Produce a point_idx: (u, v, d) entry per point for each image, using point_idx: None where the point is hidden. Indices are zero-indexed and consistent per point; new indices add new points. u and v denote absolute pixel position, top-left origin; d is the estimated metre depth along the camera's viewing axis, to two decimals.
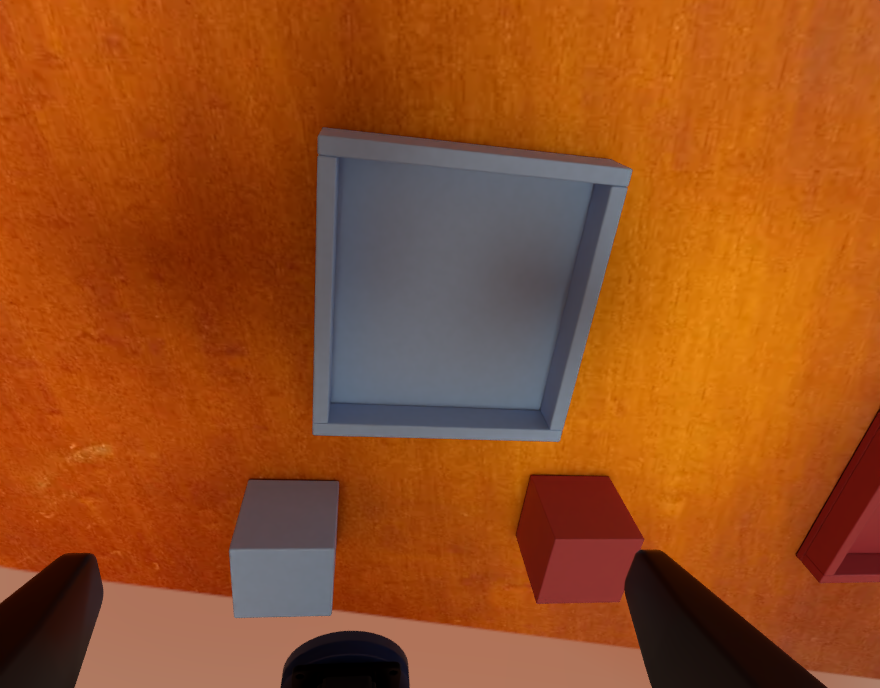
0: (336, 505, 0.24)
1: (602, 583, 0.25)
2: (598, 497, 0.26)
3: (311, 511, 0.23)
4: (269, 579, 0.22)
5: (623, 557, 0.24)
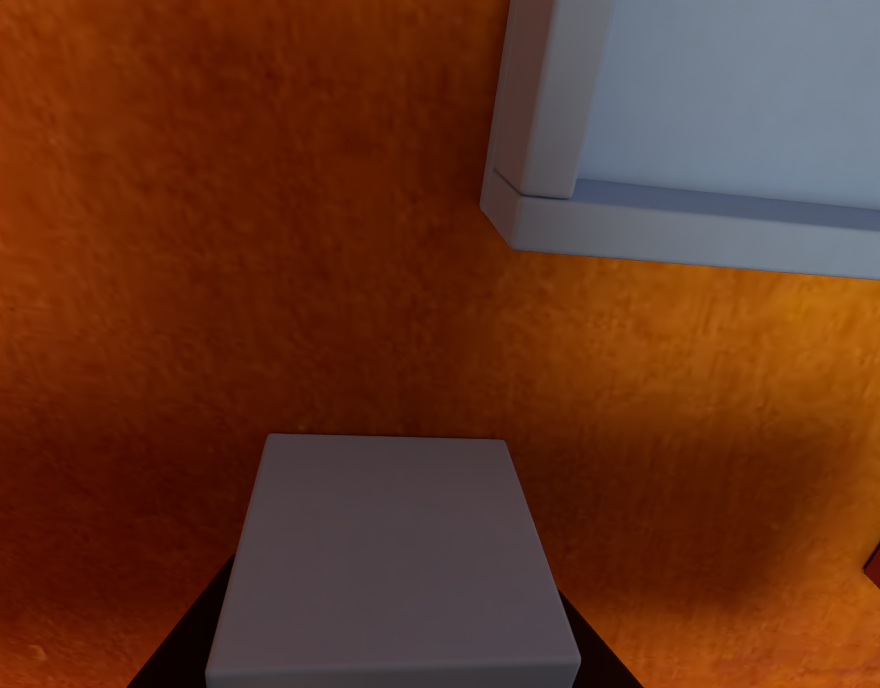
0: (525, 504, 0.08)
1: None
2: None
3: (462, 522, 0.08)
4: None
5: None
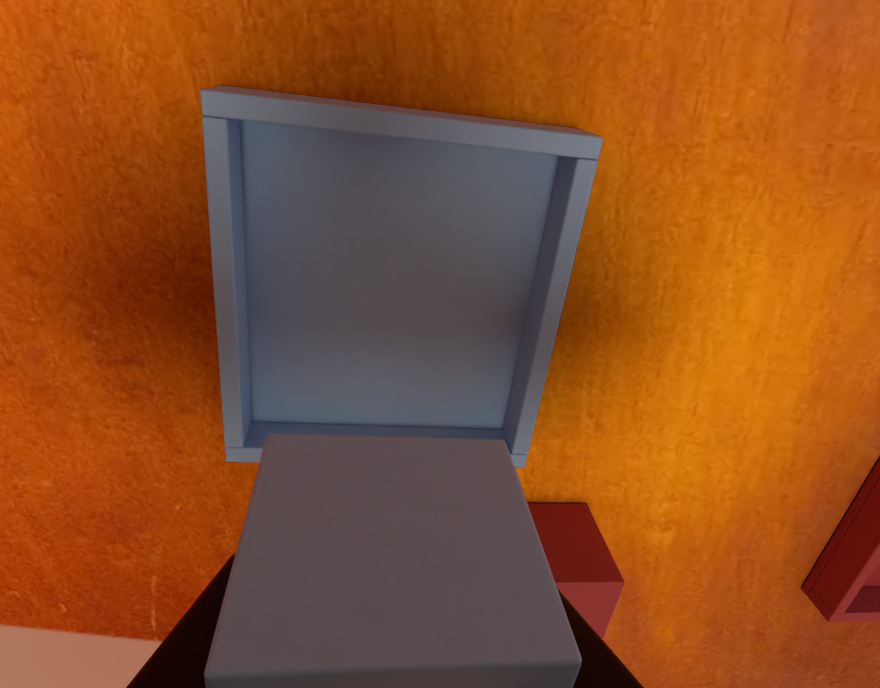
0: (526, 504, 0.08)
1: None
2: (573, 529, 0.22)
3: (462, 522, 0.08)
4: None
5: (600, 603, 0.20)
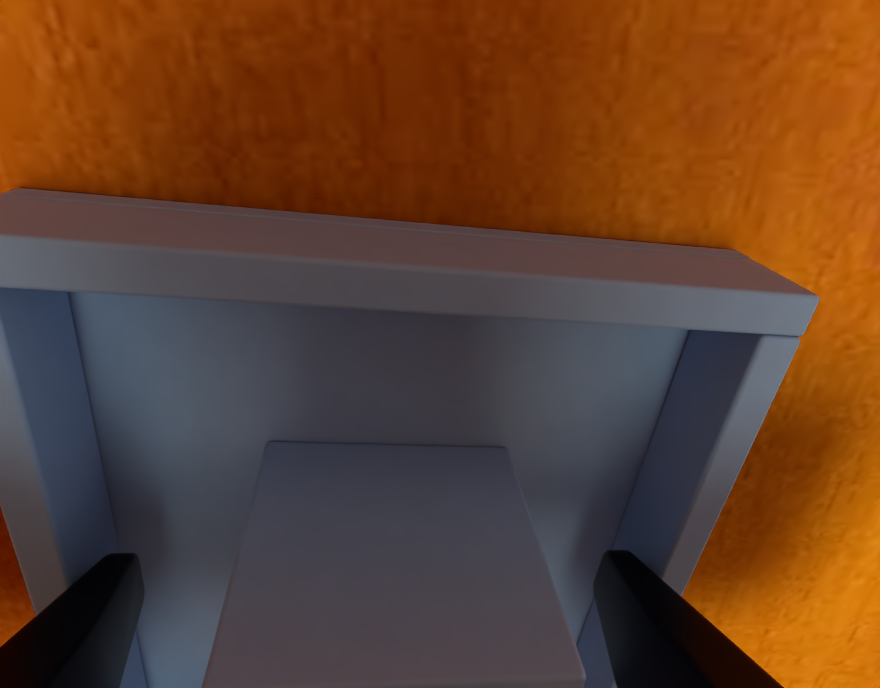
0: (528, 514, 0.08)
1: None
2: None
3: (464, 533, 0.08)
4: None
5: None
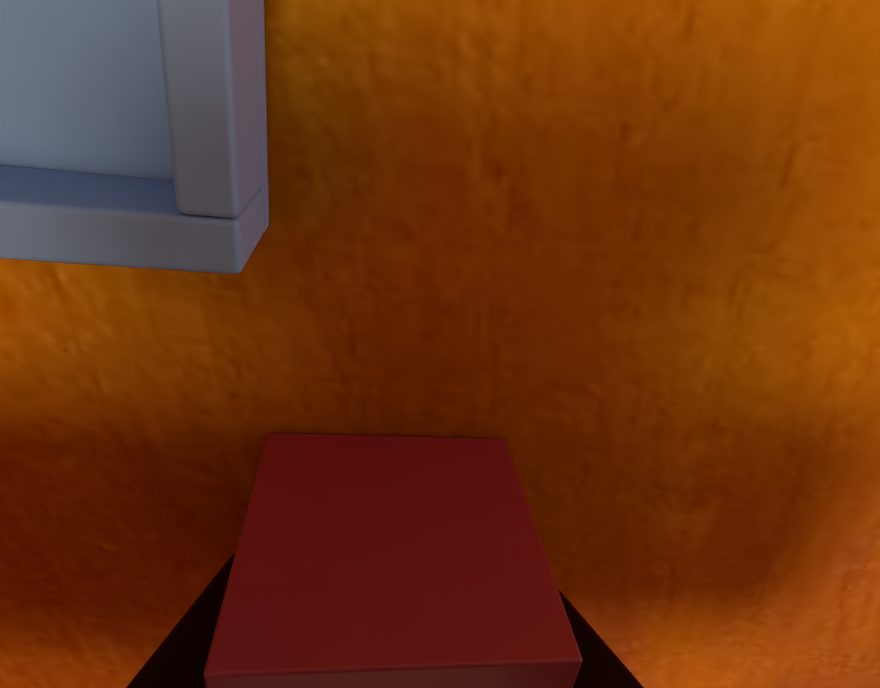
0: None
1: None
2: (453, 498, 0.08)
3: None
4: None
5: None
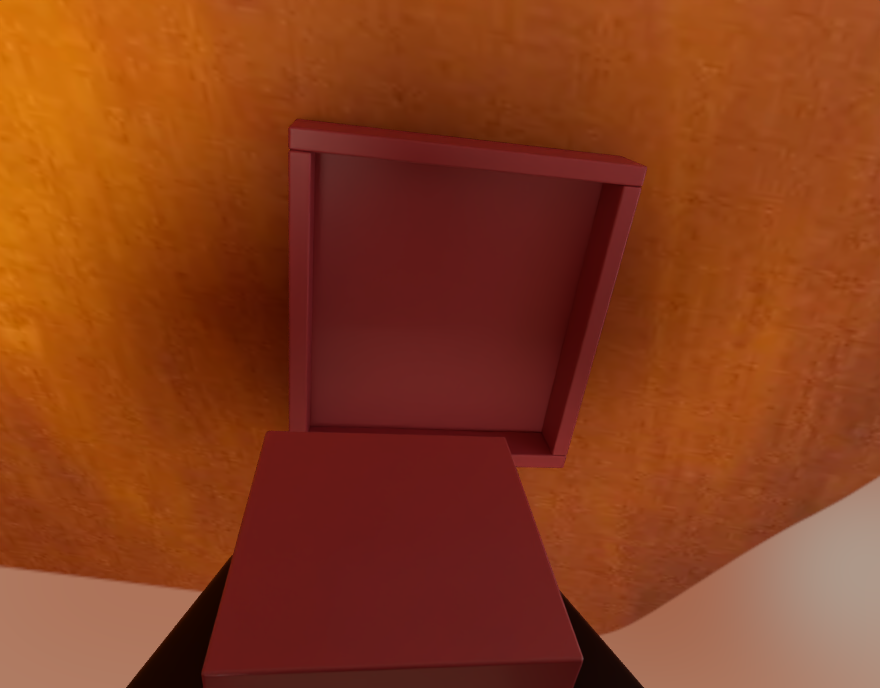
0: None
1: None
2: (453, 496, 0.08)
3: None
4: None
5: None
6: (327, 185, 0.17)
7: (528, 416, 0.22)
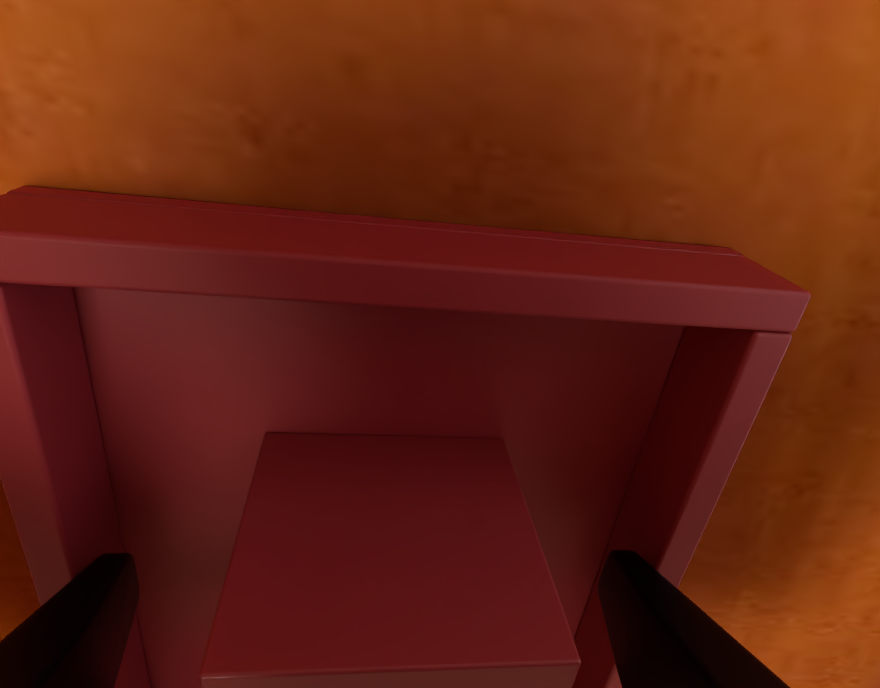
0: None
1: None
2: (451, 498, 0.08)
3: None
4: None
5: None
6: (110, 323, 0.08)
7: None
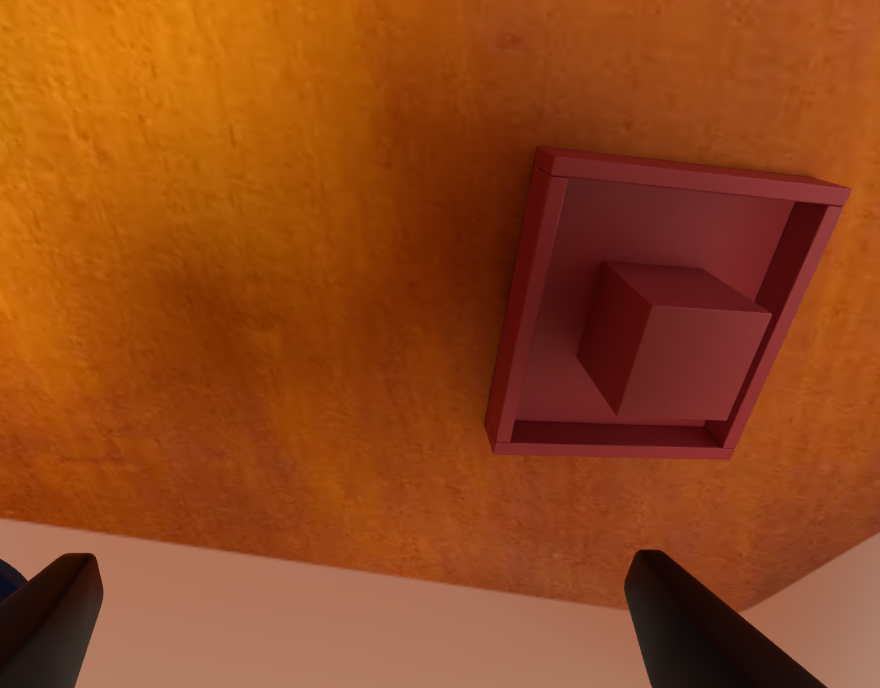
0: None
1: (708, 386, 0.18)
2: (696, 281, 0.19)
3: None
4: None
5: (740, 344, 0.17)
6: None
7: None
